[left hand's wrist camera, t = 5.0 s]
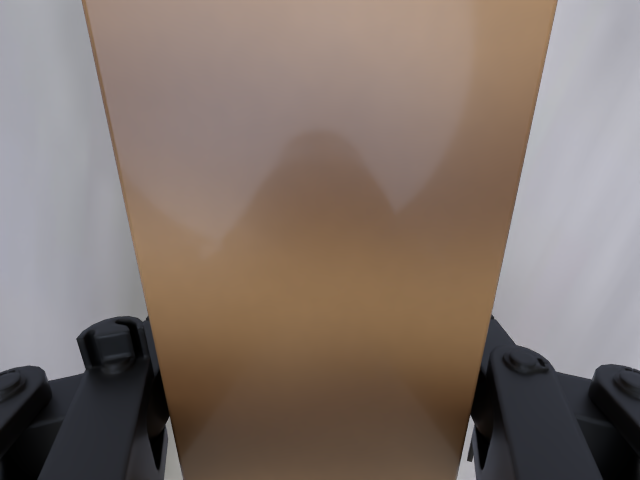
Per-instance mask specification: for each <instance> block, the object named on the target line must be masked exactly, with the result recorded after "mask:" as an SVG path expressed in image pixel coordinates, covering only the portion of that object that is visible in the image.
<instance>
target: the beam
mask: <svg viewBox="0 0 640 480" xmlns="http://www.w3.org/2000/svg"><path fill="white" fill-rule="evenodd" d="M557 1H558V0H82V4H83V9H84V14H85V18H86V23H87V28H88V32H89V37H90V42H91V47H92V51H93V56H94V61H95V65H96V70H97V75H98V80H99V84H100V89H101V94H102V98H103V103H104V108H105V113H106V117H107V122H108V127H109V131H110V136H111V141H112V146H113V150H114V155H115V160H116V165H117V169H118V174H119V179H120V183H121V188H122V193H123V198H124V202H125V207H126V212H127V216H128V221H129V226H130V231H131V235H132V240H133V245H134V249H135V254H136V259H137V264H138V268H139V273H140V278H141V282H142V287H143V292H144V297H145V301H146V306H147V311H148V316H149V320H150V325H151V330H152V334H153V339H154V344H155V349H156V353H157V358H158V363H159V367H160V372H161V377H162V382H163V386H164V391H165V396H166V400H167V405H168V410H169V415H170V419H171V424H172V429H173V433H174V438H175V443H176V448H177V452H178V457H179V462H180V467H181V471H182V476H183V480H456V479H457V474H458V470H459V465H460V460H461V456H462V451H463V446H464V441H465V437H466V432H467V427H468V422H469V418H470V413H471V408H472V404H473V399H474V394H475V389H476V385H477V380H478V375H479V370H480V366H481V361H482V356H483V351H484V347H485V342H486V337H487V333H488V328H489V323H490V318H491V314H492V309H493V304H494V299H495V295H496V290H497V285H498V281H499V276H500V271H501V266H502V262H503V257H504V252H505V247H506V243H507V238H508V233H509V229H510V224H511V219H512V214H513V210H514V205H515V200H516V195H517V191H518V186H519V181H520V176H521V172H522V167H523V162H524V158H525V153H526V148H527V143H528V139H529V134H530V129H531V124H532V120H533V115H534V110H535V106H536V101H537V96H538V91H539V87H540V82H541V77H542V72H543V68H544V63H545V58H546V53H547V49H548V44H549V39H550V35H551V30H552V25H553V20H554V16H555V11H556V6H557Z"/></svg>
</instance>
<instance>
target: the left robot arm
mask: <svg viewBox="0 0 640 480" xmlns="http://www.w3.org/2000/svg"><path fill="white" fill-rule="evenodd" d="M77 342H78V346H79V349H80V352H81V355H82V359H83V362H84V365H85V368H86V370H85V372H84V373H82V374H79V375H75V376H70V377H65V378H61V379H56V380H51V381H48V379H47V377H46V374H45V371H44V370H42V369H41V368H40V367H36V366H23V367H17V368H13V369H9V370H6V371H3V372H1V373H0V480H164V473H165V464H166V454H167V445H168V435H167V429H166V425H165V424H166V422H167V420H168V418H169V416H170V415H169V410H168V405H167V400H166V396H165V391H164V386H163V382H162V377H161V372H160V367H159V363H158V358H157V353H156V349H155V344H154V339H153V334H152V330H151V325H150V320H149V316H148V317H147V318H146V321H144V322H142V321H141V320H140V319H138V318H135V317H130V316H123V317H114V318H110V319H106V320H103V321H101V322H98V323H96V324H94V325H92V326H90V327H89V328H87V329H86V330H84V331H83V332H82V333H81V334H80V335H79V336H78V337H77ZM470 415H471V417H472V419H473V421H474V423H475V425H474V429H473V434H472V438H471V443H470V447H469V452H468V458H467V461H470V462H472V459H473V455H474V463H475V472H476V480H640V371H639V370H636V369H632V368H630V367H626V366H621V365H614V364H608V365H601V366H600V367H598V368H597V369H596V370H595V373H594V376H593V378H592V380H591V379H587V378H582V377H577V376H573V375H568V374H563V373H560V372H556V371H555V369H554V368H553V366H552V365H551V364H550V362H549V361H548V360H547V359H545V358H544V357H543V356H541V355H540V354H539V353H536V352H534V351H532V350H530V349H528V348H525V347H521V346H517V345H516V344H515V343H514V342H513V341H512V339H511V338H510V337H509V336H508V334H507V333H506V332H505V330H504V329H503V328H502V327H501V325H500V324H499V323H498V322H497V320H496V319H494V317H493V315H492V314H491V318H490V323H489V328H488V333H487V337H486V342H485V347H484V351H483V356H482V361H481V366H480V370H479V375H478V380H477V385H476V389H475V394H474V399H473V404H472V408H471V413H470Z"/></svg>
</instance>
